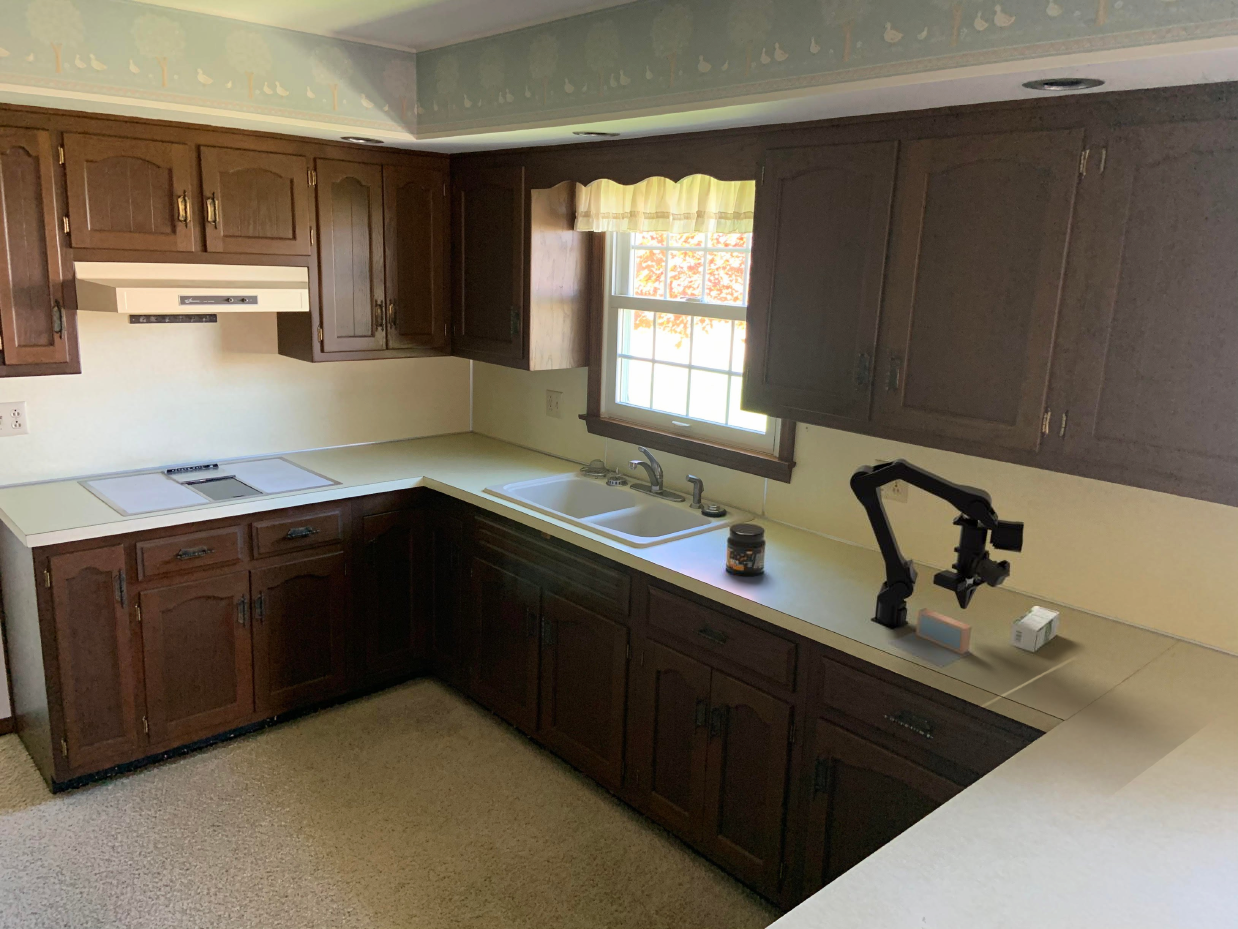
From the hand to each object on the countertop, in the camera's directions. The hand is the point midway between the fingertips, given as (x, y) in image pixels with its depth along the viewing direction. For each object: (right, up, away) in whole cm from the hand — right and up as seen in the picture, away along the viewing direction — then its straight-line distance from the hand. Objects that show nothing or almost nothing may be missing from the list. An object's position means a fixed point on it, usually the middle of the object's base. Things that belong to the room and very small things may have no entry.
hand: (963, 608), depth 209 cm
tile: (-6, -7, -3) cm, 10 cm away
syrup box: (+11, -6, -5) cm, 14 cm away
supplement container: (-45, +4, +39) cm, 60 cm away
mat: (-10, -8, -5) cm, 14 cm away
